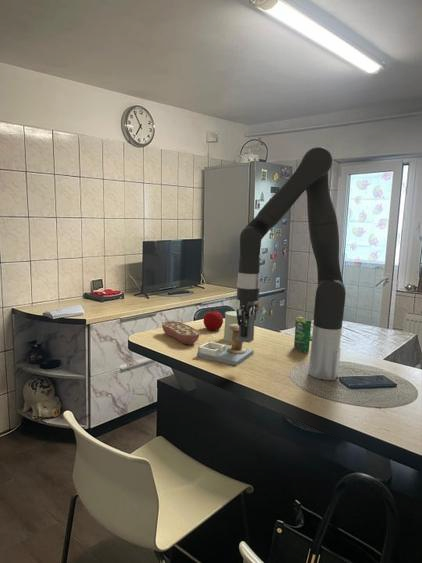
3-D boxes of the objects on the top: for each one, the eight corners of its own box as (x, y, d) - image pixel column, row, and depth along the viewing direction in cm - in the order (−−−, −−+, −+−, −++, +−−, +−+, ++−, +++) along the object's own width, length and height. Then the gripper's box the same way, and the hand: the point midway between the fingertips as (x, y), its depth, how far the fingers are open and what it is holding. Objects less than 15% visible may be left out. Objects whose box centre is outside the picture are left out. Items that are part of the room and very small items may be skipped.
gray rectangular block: (253, 340, 143) (254, 310, 142) (249, 342, 139) (250, 312, 138) (242, 338, 145) (244, 308, 143) (238, 341, 141) (239, 310, 140)
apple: (215, 333, 185) (216, 311, 184) (198, 329, 190) (200, 308, 189) (226, 329, 193) (227, 308, 192) (209, 325, 198) (211, 305, 196)
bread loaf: (158, 333, 180) (158, 322, 180) (178, 331, 186) (178, 320, 185) (183, 348, 161) (183, 336, 161) (204, 345, 167) (205, 333, 166)
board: (253, 353, 159) (253, 345, 159) (236, 365, 145) (237, 356, 145) (216, 346, 166) (216, 337, 166) (196, 356, 152) (197, 347, 152)
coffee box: (292, 347, 171) (295, 316, 169) (299, 346, 172) (301, 316, 170) (302, 353, 164) (305, 321, 162) (309, 352, 165) (312, 320, 163)
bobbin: (248, 350, 158) (250, 326, 157) (241, 355, 152) (243, 329, 151) (231, 346, 161) (233, 323, 160) (224, 351, 155) (225, 326, 154)
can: (248, 339, 178) (250, 312, 177) (238, 344, 171) (240, 316, 169) (230, 335, 183) (231, 309, 181) (219, 339, 175) (221, 312, 174)
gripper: (251, 289, 132) (248, 342, 134) (265, 284, 144) (263, 332, 147) (229, 287, 135) (227, 338, 137) (245, 282, 148) (244, 329, 150)
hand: (246, 335), depth 142 cm, fingers closed on gray rectangular block, 4 cm apart
